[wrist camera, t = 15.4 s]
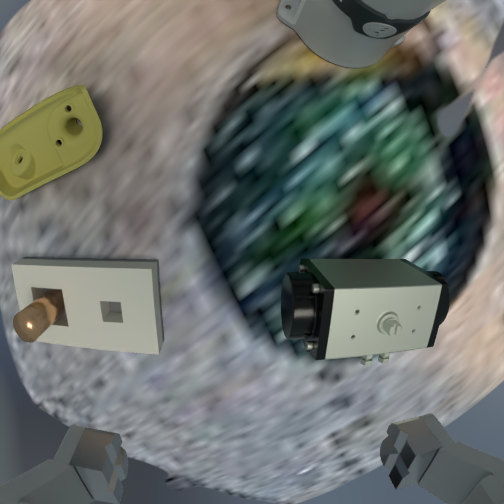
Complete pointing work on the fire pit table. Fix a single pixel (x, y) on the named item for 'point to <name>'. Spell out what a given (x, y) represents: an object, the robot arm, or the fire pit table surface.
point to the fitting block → (97, 301)
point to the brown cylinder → (39, 315)
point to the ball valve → (363, 307)
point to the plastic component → (48, 141)
